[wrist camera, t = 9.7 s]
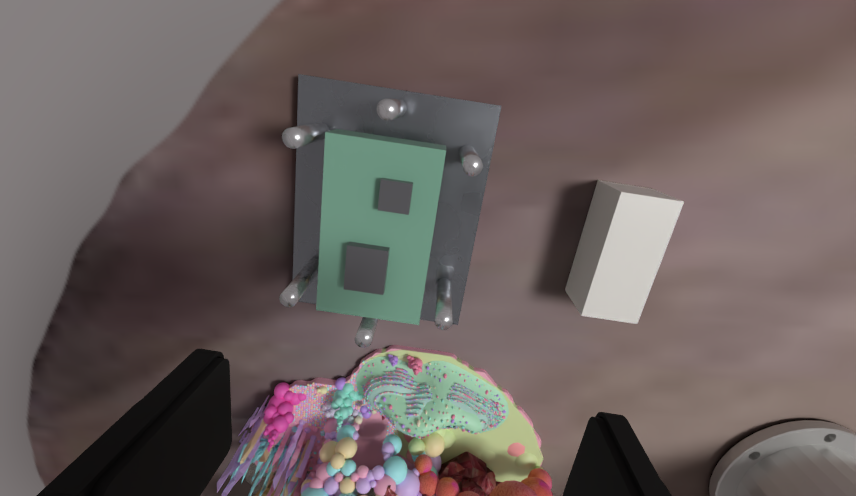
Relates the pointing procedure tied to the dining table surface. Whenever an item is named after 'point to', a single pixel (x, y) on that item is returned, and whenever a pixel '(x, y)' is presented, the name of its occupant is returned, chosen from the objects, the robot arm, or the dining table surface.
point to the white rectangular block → (621, 250)
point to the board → (377, 224)
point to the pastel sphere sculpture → (392, 434)
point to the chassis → (407, 119)
